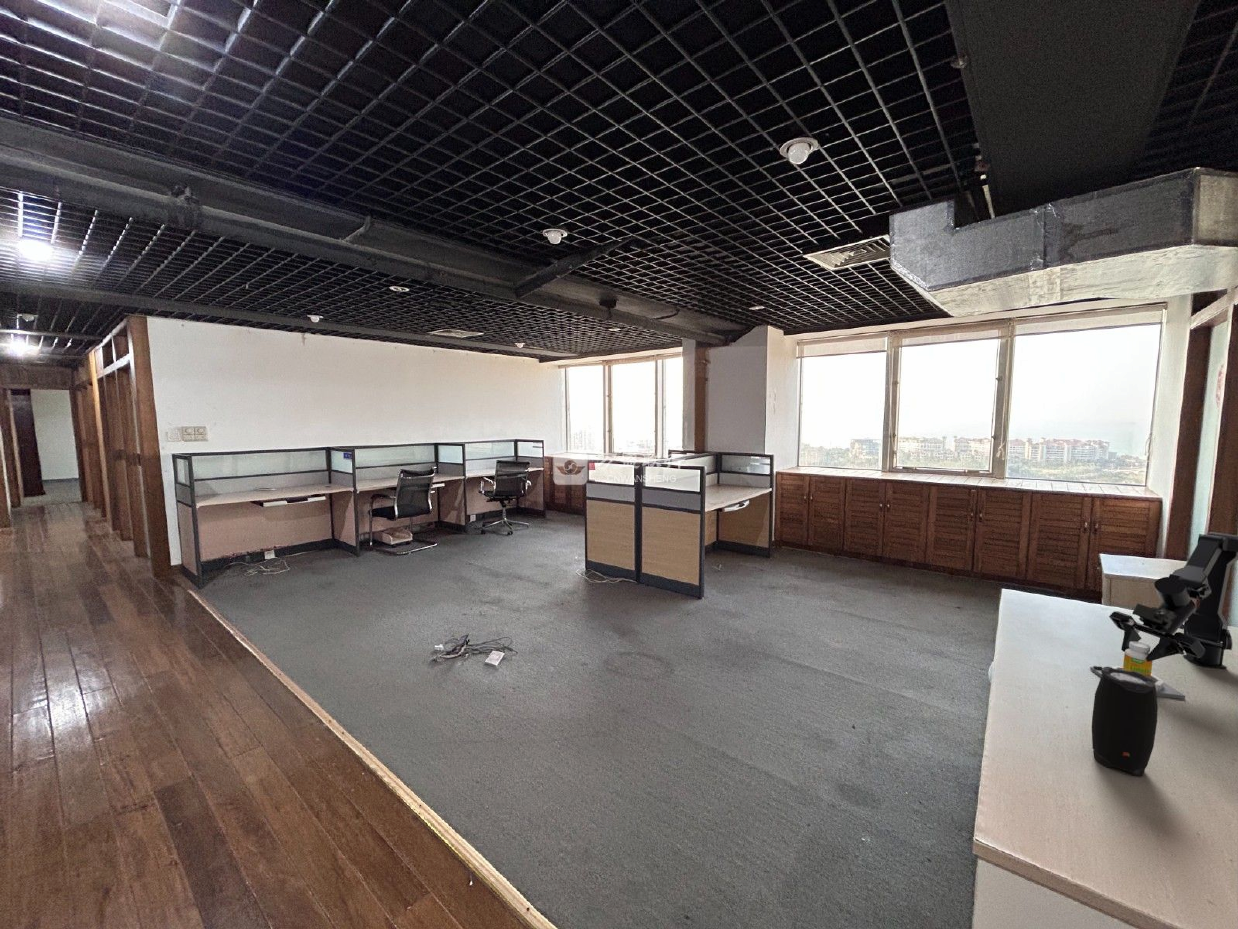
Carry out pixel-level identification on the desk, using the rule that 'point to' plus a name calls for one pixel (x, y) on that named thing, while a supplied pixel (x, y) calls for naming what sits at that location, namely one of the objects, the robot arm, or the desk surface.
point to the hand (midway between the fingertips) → (1134, 655)
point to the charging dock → (1161, 687)
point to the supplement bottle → (1137, 658)
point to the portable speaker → (1124, 720)
